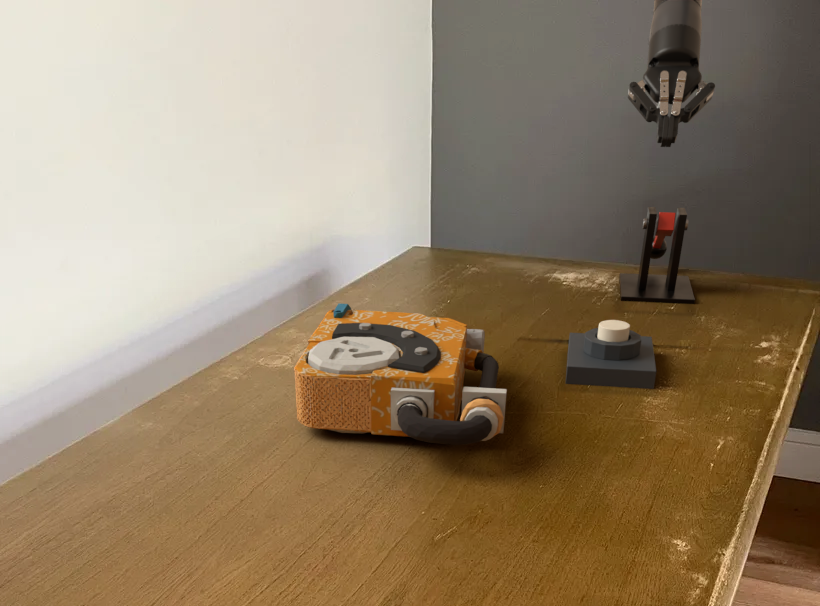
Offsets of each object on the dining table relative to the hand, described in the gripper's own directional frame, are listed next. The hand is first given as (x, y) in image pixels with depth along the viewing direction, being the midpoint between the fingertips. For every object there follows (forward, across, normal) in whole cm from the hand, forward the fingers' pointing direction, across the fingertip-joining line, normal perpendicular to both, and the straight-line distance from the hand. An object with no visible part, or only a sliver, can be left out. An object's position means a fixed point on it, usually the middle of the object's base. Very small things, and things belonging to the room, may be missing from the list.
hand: (666, 143), depth 142 cm
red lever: (+17, 0, +1) cm, 17 cm away
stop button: (+43, -7, -22) cm, 48 cm away
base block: (+45, -7, -20) cm, 50 cm away
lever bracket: (+24, 0, +2) cm, 24 cm away
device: (+57, -29, -32) cm, 72 cm away
